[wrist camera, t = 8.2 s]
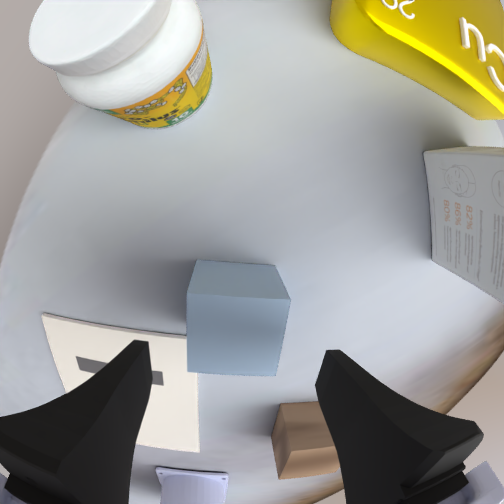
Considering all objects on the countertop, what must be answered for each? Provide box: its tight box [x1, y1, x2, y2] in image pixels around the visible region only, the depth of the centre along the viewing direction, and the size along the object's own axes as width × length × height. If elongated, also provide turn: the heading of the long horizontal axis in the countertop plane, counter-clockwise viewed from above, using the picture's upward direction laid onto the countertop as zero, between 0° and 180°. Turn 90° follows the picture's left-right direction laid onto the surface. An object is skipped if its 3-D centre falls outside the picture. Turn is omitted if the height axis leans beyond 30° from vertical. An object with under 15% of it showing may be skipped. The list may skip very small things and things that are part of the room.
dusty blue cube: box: [187, 260, 291, 376], centre depth 15 cm, size 4×4×4 cm
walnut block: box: [271, 401, 340, 479], centre depth 19 cm, size 5×5×5 cm
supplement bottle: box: [29, 0, 212, 129], centre depth 8 cm, size 5×5×10 cm
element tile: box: [330, 0, 504, 120], centre depth 10 cm, size 15×15×5 cm
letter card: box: [42, 313, 200, 452], centre depth 18 cm, size 14×12×1 cm
